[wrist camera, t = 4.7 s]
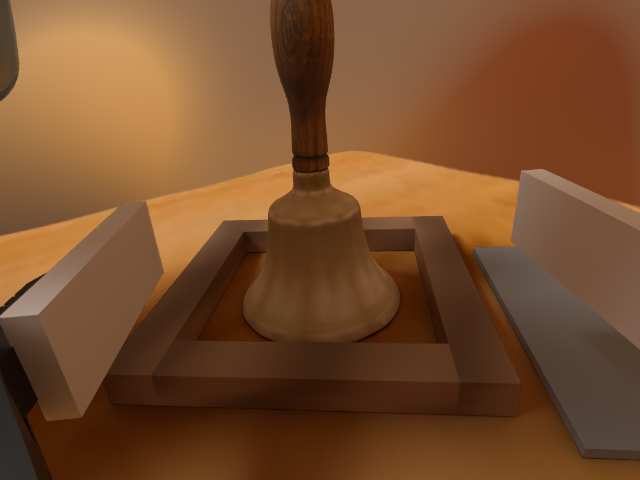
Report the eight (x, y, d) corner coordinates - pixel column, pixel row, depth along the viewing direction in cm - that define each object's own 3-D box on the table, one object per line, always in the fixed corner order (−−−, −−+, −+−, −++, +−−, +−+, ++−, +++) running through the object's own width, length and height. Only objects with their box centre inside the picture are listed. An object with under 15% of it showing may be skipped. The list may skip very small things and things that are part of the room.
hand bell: (236, 276, 25) (182, -41, 18) (365, 252, 26) (360, -43, 20) (253, 368, 17) (172, -110, 11) (430, 326, 19) (458, -104, 12)
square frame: (111, 403, 16) (99, 374, 15) (227, 240, 29) (223, 220, 29) (515, 416, 14) (521, 383, 14) (441, 236, 28) (442, 215, 27)
